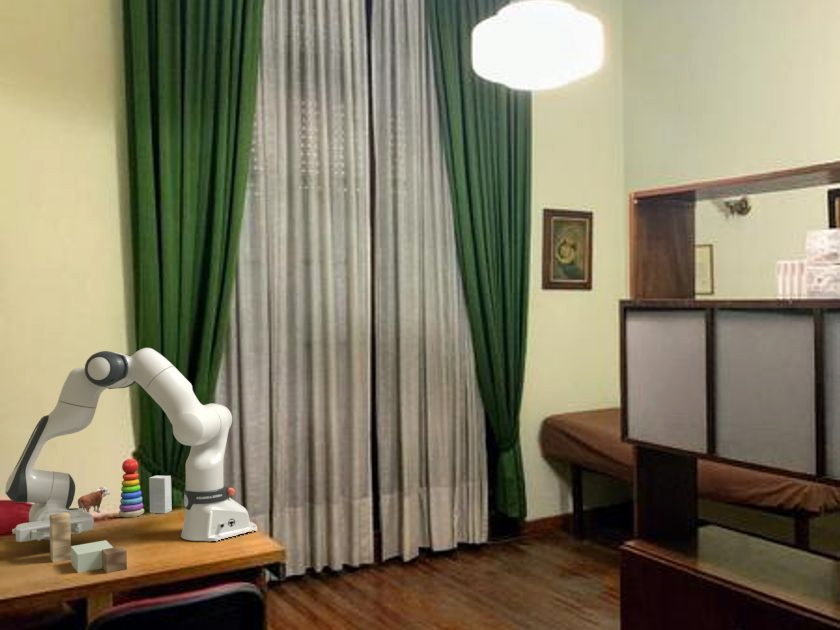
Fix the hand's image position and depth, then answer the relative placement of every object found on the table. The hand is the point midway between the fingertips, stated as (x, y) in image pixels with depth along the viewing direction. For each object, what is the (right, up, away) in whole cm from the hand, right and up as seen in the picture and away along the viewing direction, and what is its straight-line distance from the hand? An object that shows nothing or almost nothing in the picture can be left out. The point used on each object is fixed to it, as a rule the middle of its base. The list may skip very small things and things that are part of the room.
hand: (59, 534), depth 213 cm
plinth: (+12, -7, -7) cm, 15 cm away
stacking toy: (+3, -6, +44) cm, 45 cm away
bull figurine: (-11, -7, +47) cm, 49 cm away
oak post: (+1, -7, -1) cm, 7 cm away
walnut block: (+19, -6, -10) cm, 23 cm away
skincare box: (+12, -6, +48) cm, 50 cm away
